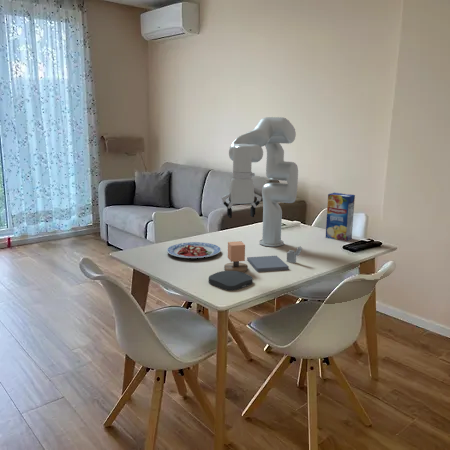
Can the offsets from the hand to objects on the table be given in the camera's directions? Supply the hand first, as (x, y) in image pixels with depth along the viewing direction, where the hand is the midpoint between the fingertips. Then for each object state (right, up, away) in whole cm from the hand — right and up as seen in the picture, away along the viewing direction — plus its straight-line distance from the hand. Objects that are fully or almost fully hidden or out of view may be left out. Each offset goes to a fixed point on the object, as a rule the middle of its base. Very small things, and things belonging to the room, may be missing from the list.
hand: (241, 217), depth 189 cm
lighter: (+24, -20, +16) cm, 35 cm away
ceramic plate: (-22, -17, +28) cm, 40 cm away
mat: (+12, -21, +12) cm, 27 cm away
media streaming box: (-5, -27, -10) cm, 29 cm away
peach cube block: (-2, -18, +5) cm, 19 cm away
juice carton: (+55, -11, +58) cm, 81 cm away
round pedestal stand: (-2, -22, +6) cm, 23 cm away
